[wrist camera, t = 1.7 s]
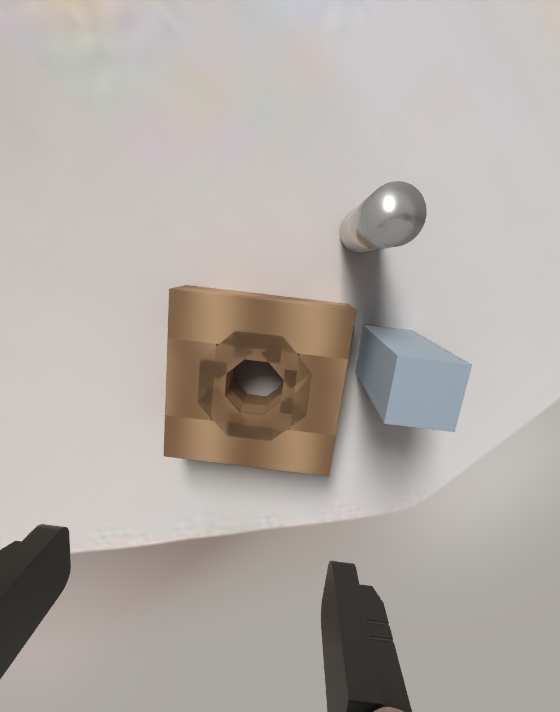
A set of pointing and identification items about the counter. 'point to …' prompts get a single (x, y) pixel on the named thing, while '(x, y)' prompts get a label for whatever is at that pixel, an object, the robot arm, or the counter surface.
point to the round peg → (385, 218)
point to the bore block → (228, 400)
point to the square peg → (411, 378)
